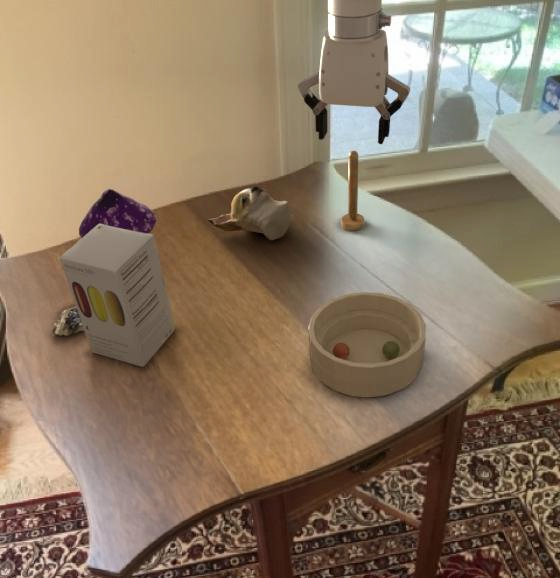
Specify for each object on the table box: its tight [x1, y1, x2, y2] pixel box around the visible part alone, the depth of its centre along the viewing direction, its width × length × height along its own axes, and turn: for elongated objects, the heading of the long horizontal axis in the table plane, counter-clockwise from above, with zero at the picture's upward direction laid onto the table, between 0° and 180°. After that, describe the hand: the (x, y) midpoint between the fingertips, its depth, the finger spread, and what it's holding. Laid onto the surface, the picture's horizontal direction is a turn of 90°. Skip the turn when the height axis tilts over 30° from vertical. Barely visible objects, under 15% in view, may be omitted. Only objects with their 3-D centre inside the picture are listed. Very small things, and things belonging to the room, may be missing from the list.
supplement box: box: [59, 224, 176, 368], centre depth 92 cm, size 10×9×17 cm
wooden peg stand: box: [340, 150, 365, 232], centre depth 112 cm, size 4×4×14 cm
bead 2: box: [382, 341, 400, 359], centre depth 90 cm, size 2×2×2 cm
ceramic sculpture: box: [207, 186, 292, 241], centre depth 115 cm, size 11×9×15 cm
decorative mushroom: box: [78, 188, 157, 239], centre depth 106 cm, size 12×12×15 cm
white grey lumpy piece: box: [51, 305, 85, 337], centre depth 102 cm, size 7×8×2 cm
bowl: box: [307, 291, 427, 398], centre depth 90 cm, size 15×15×6 cm
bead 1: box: [333, 343, 350, 360], centre depth 91 cm, size 2×2×2 cm
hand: (352, 138), depth 106 cm, fingers open, 9 cm apart
